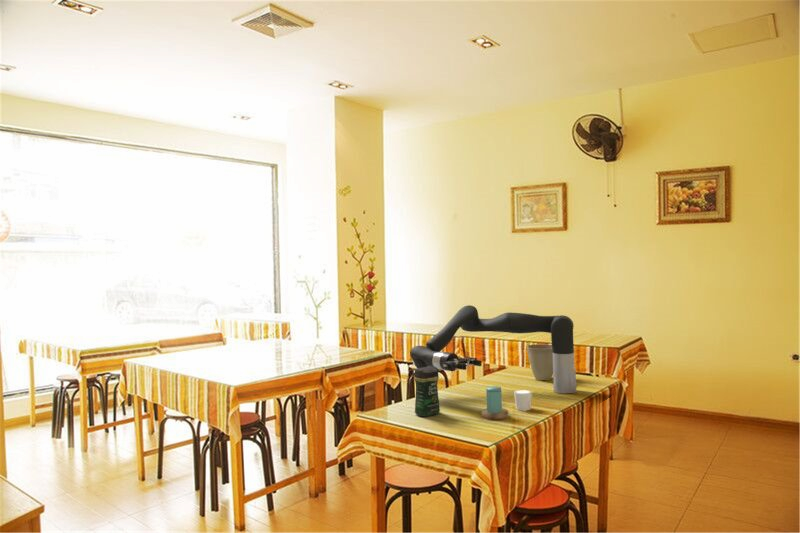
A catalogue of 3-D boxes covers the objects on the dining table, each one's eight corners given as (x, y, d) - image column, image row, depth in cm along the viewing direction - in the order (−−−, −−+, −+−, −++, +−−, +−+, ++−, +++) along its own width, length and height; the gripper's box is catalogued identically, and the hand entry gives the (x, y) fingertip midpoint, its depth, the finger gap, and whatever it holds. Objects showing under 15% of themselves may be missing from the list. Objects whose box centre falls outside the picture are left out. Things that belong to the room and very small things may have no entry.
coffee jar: (425, 418, 220) (423, 370, 220) (412, 414, 226) (410, 367, 226) (443, 413, 226) (441, 366, 226) (430, 409, 232) (428, 364, 232)
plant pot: (557, 383, 269) (556, 349, 268) (525, 381, 274) (524, 348, 274) (560, 376, 283) (559, 344, 282) (530, 375, 288) (529, 343, 288)
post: (507, 412, 223) (506, 392, 223) (509, 420, 213) (508, 398, 213) (481, 412, 224) (480, 392, 224) (482, 420, 215) (481, 399, 214)
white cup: (522, 412, 223) (521, 394, 223) (510, 408, 229) (510, 391, 229) (535, 409, 226) (535, 392, 226) (524, 405, 232) (523, 388, 232)
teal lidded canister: (501, 409, 221) (500, 386, 221) (502, 413, 216) (501, 389, 216) (486, 409, 222) (485, 386, 222) (487, 413, 216) (486, 389, 216)
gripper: (432, 354, 235) (460, 358, 222) (457, 349, 244) (485, 353, 231) (433, 373, 235) (461, 377, 223) (458, 367, 244) (486, 371, 231)
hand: (473, 365), depth 227 cm, fingers open, 8 cm apart
